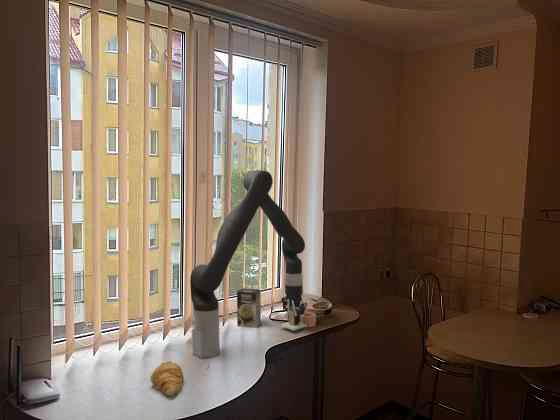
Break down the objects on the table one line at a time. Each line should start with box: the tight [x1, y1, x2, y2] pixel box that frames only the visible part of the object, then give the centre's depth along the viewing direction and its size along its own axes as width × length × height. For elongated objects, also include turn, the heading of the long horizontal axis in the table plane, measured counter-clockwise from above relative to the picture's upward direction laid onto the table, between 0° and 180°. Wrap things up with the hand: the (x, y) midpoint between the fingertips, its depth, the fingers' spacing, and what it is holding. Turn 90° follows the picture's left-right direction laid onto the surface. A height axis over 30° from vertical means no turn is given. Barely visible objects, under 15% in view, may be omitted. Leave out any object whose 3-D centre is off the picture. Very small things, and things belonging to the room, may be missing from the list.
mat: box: [280, 327, 309, 335], centre depth 199 cm, size 9×9×1 cm
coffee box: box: [236, 287, 262, 329], centre depth 205 cm, size 9×6×16 cm
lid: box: [281, 309, 307, 330], centre depth 199 cm, size 8×8×7 cm
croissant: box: [150, 361, 185, 397], centre depth 151 cm, size 21×10×8 cm, turn 21°
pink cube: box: [300, 311, 317, 328], centre depth 205 cm, size 6×6×5 cm
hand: (294, 322), depth 199 cm, fingers closed on lid, 3 cm apart
